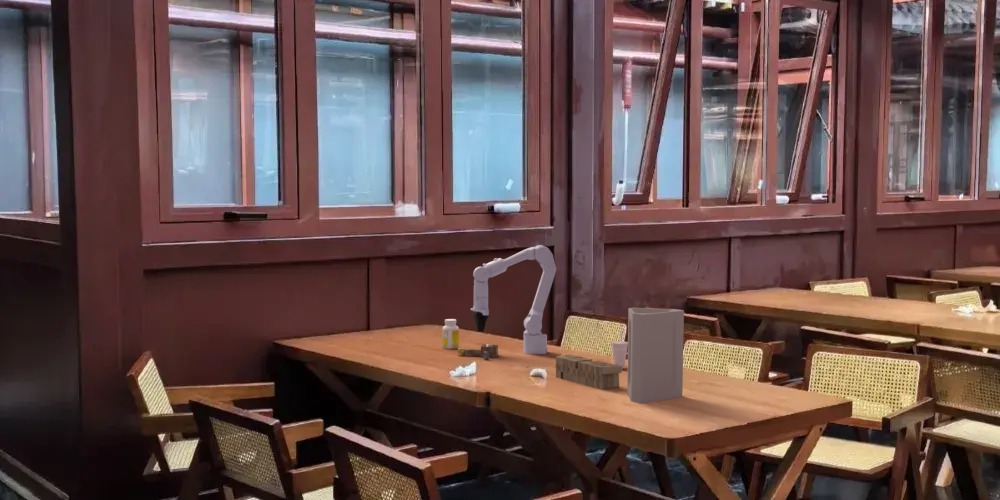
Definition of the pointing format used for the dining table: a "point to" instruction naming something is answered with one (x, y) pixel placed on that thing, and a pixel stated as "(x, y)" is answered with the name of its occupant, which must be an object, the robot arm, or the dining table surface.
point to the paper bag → (655, 354)
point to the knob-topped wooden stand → (479, 351)
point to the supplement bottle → (450, 334)
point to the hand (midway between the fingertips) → (480, 331)
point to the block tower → (588, 371)
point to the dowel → (486, 355)
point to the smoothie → (619, 352)
